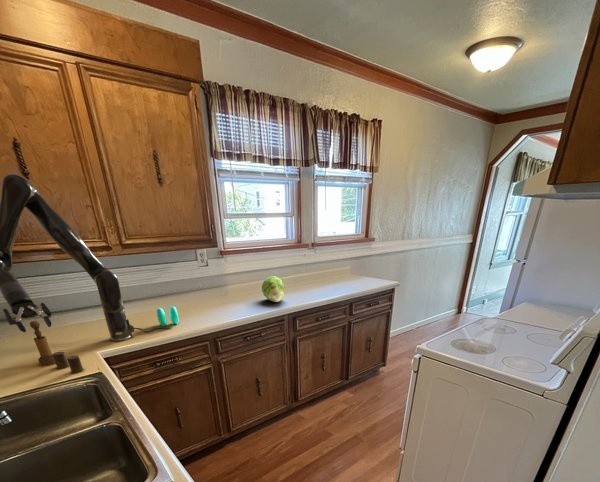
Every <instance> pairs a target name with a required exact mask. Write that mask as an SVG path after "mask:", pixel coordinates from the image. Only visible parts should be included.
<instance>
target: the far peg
mask: <svg viewBox="0 0 600 482" xmlns="http://www.w3.org/2000/svg"><path fill="white" fill-rule="evenodd" d="M66 359H67V361H68V364H69V366H68V367H69V369H70V372H71V373H72V374H79V373H82V372H83V371H84V367H83V365H82V362H81V359H80V355H77V354H76V355H75V354H74V355H69V356H66Z"/></svg>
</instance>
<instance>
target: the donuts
mask: <svg viewBox="0 0 600 482" xmlns="http://www.w3.org/2000/svg"><path fill="white" fill-rule="evenodd" d="M168 311H169V312H168V314H169V318H170V321H171V323H172V324H174V325H178V324H179V322H180V319H179V314H178V310H177V308H176V307H175V306H170V307H169V310H168ZM156 317H157V320H158V323H159V325H160V326H161V327H165V326H166V325H167V316H166V312H165V311H164V309H163V308H161V307H158V308H156Z"/></svg>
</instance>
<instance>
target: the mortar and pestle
mask: <svg viewBox="0 0 600 482" xmlns="http://www.w3.org/2000/svg"><path fill="white" fill-rule="evenodd" d="M29 326H30V328H31V329H33V330H34V332H33V333H34V335H35V337H34V338H33V342H34V343H35V346H36V348H37V350H38V351H37V352H38V353H39V355H40V356H39V358H38V363H39V365H40V366H43V367H45V366H47V367H48V366H52V365H56V363H55V360H54V357H53V355H52V354H53V353H52V349H51V348H50V345H49V342H48V340H47V337H46V336H45V335H43V336H42V331H41V330H40V322H39V321H37V320H31V321H30V322H29Z"/></svg>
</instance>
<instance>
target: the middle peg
mask: <svg viewBox="0 0 600 482" xmlns="http://www.w3.org/2000/svg"><path fill="white" fill-rule="evenodd" d="M52 355H53V357H54V360H55V366H56V369H59V370H61V369H66V368H68V367H70V366H69V363H68V360H67V356H66V353H65V351H56V352H53V353H52Z"/></svg>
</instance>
